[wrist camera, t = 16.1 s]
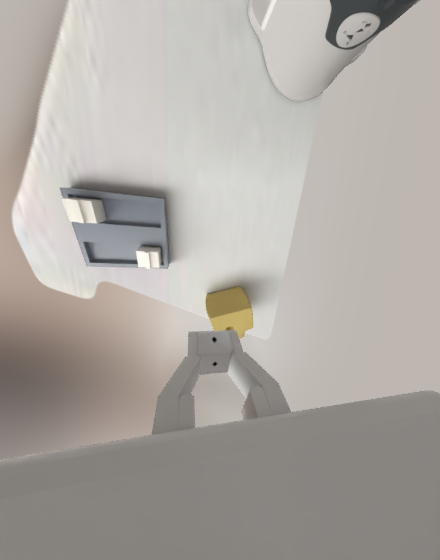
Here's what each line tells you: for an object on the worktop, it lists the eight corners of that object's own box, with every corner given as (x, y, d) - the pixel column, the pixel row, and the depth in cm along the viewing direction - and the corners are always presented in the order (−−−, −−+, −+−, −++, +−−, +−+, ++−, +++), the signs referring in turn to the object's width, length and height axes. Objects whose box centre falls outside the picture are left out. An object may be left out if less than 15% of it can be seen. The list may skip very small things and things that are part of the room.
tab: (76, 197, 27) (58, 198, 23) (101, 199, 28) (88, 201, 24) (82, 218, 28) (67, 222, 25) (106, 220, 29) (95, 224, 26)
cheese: (245, 310, 49) (256, 336, 40) (212, 319, 49) (216, 346, 40) (241, 283, 43) (253, 306, 35) (203, 293, 43) (206, 318, 35)
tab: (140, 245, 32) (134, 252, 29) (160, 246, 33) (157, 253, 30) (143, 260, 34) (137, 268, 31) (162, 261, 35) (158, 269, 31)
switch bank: (70, 187, 27) (59, 187, 25) (165, 198, 30) (163, 199, 28) (93, 261, 34) (86, 266, 32) (169, 263, 37) (167, 268, 35)
